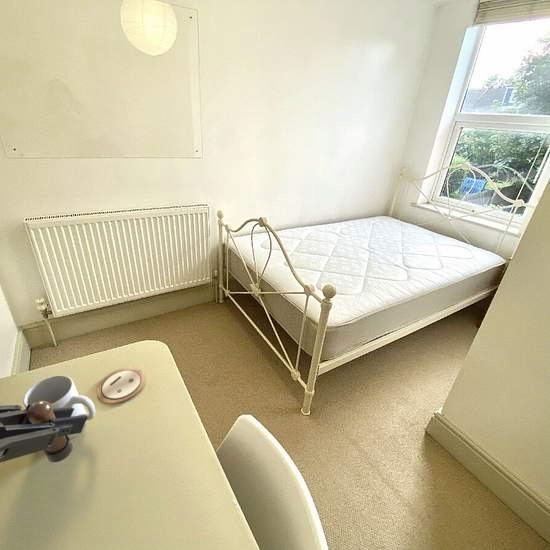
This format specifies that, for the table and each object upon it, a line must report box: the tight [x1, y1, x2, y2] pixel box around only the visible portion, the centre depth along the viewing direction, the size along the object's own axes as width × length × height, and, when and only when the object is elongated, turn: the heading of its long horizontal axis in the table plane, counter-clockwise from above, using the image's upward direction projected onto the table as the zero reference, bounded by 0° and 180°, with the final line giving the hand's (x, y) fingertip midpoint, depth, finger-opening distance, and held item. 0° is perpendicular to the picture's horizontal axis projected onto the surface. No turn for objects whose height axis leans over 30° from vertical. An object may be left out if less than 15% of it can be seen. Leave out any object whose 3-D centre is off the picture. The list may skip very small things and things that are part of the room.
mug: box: [22, 374, 97, 440], centre depth 64 cm, size 12×8×11 cm
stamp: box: [26, 401, 74, 463], centre depth 49 cm, size 4×4×12 cm
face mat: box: [96, 367, 147, 405], centre depth 77 cm, size 11×11×1 cm
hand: (75, 419), depth 53 cm, fingers closed on stamp, 3 cm apart
